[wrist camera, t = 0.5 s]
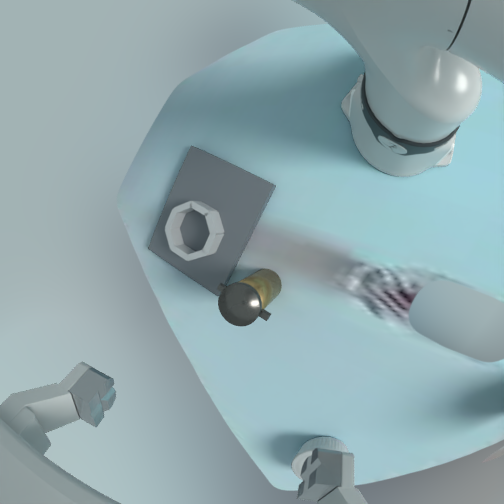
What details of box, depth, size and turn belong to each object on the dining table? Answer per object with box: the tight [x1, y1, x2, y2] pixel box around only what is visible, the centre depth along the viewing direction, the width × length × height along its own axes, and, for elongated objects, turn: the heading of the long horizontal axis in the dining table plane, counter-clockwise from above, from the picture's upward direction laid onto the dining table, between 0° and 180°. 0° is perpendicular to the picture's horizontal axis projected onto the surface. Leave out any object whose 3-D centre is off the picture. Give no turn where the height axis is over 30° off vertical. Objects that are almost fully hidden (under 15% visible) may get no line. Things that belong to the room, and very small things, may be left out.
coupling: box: [217, 269, 281, 326], centre depth 42 cm, size 8×5×12 cm
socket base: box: [148, 146, 276, 296], centre depth 47 cm, size 20×16×4 cm
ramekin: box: [291, 437, 349, 480], centre depth 45 cm, size 11×11×5 cm
